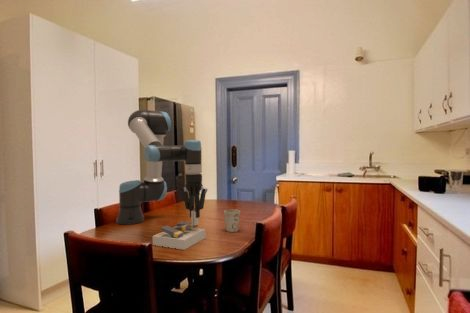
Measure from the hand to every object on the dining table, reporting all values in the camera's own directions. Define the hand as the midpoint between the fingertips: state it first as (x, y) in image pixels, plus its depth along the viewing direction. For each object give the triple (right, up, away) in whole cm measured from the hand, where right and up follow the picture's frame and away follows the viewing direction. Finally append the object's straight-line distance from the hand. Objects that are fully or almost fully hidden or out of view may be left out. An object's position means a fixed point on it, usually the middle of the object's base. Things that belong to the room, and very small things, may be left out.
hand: (195, 224), depth 136 cm
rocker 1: (-9, -1, -9) cm, 13 cm away
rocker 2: (-6, -1, -4) cm, 7 cm away
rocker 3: (-4, -1, +2) cm, 4 cm away
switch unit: (-6, -7, -4) cm, 10 cm away
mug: (+16, -6, +16) cm, 24 cm away
